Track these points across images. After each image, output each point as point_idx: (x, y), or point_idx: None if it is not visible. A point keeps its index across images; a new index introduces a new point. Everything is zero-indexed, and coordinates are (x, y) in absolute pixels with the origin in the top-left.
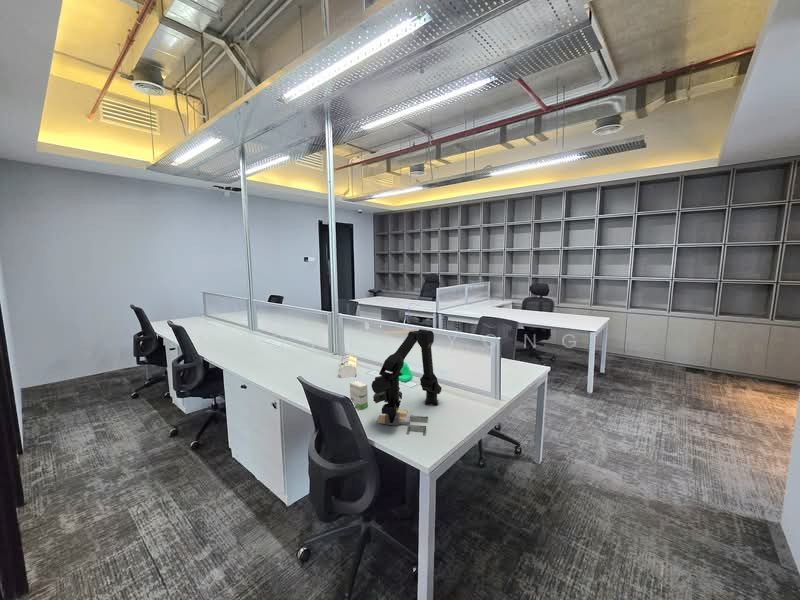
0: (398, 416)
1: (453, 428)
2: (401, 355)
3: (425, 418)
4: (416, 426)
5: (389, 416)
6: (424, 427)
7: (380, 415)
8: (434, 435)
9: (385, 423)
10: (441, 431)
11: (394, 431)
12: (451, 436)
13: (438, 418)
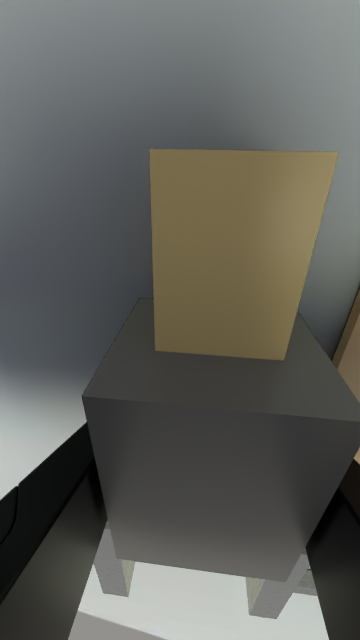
0: (142, 560)
1: (187, 619)
2: None
3: (251, 607)
4: (102, 564)
5: (11, 509)
6: (105, 589)
7: (290, 211)
8: (93, 569)
9: (135, 312)
10: (145, 591)
11: (46, 398)
12: (109, 604)
13: (305, 605)
